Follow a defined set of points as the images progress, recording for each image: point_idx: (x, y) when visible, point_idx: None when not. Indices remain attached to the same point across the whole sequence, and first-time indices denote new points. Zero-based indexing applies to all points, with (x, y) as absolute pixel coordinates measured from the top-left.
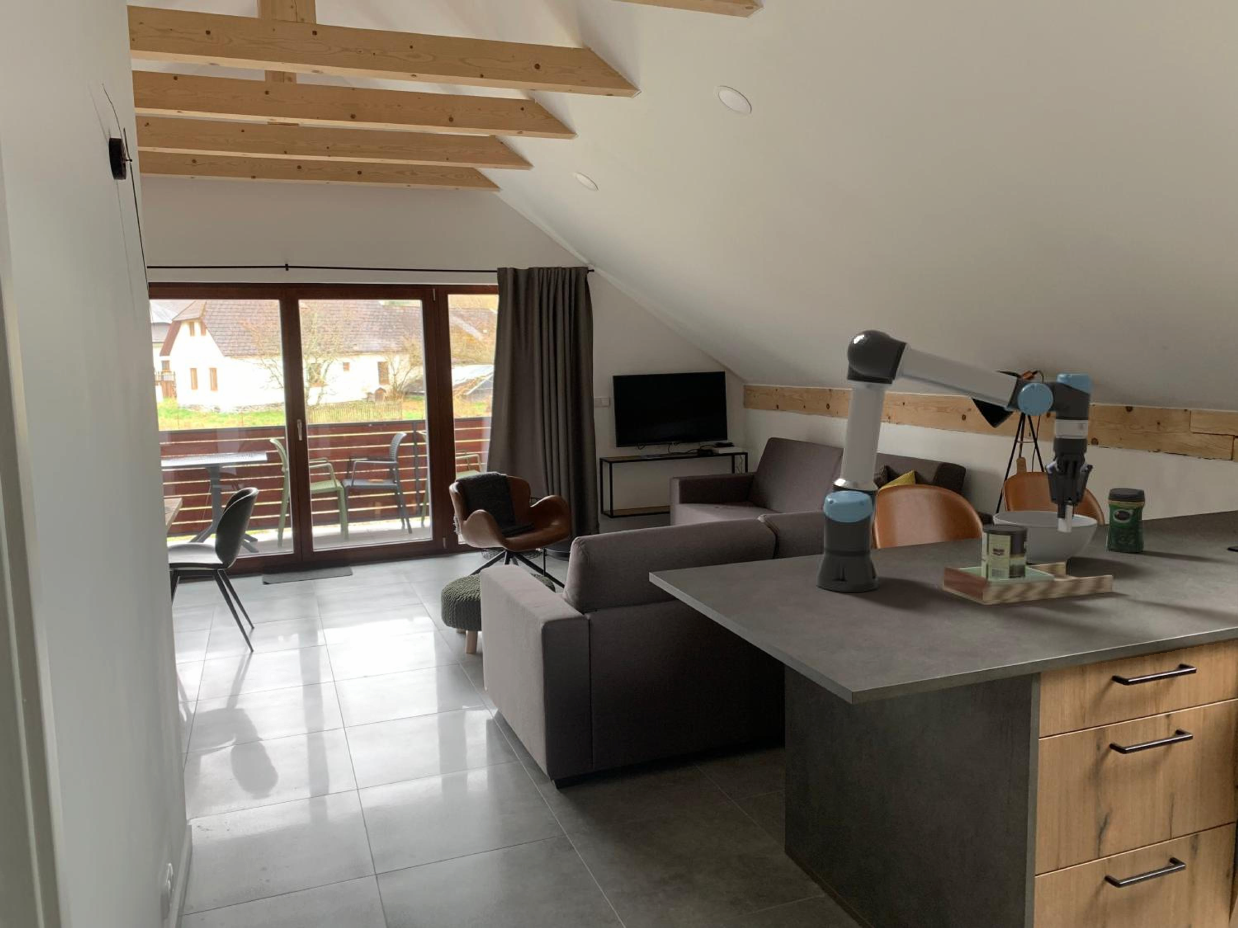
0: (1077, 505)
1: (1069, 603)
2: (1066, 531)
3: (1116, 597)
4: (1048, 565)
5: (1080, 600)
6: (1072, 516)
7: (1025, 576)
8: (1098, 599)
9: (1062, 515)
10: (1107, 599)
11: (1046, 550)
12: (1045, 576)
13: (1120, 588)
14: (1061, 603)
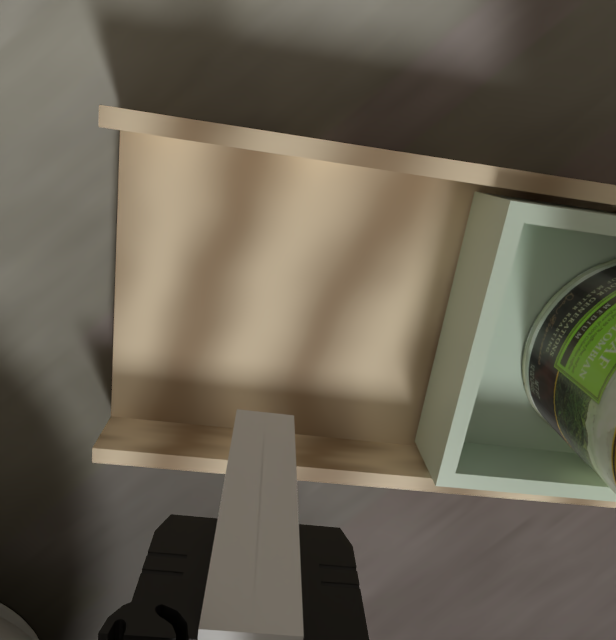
0: (132, 605)
1: (526, 49)
2: (289, 420)
3: (208, 9)
4: (211, 455)
5: (427, 64)
6: (177, 529)
7: (610, 287)
8: (330, 30)
9: (340, 556)
10: (289, 4)
11: (12, 634)
12: (568, 209)
13: (24, 139)
14: (557, 70)
